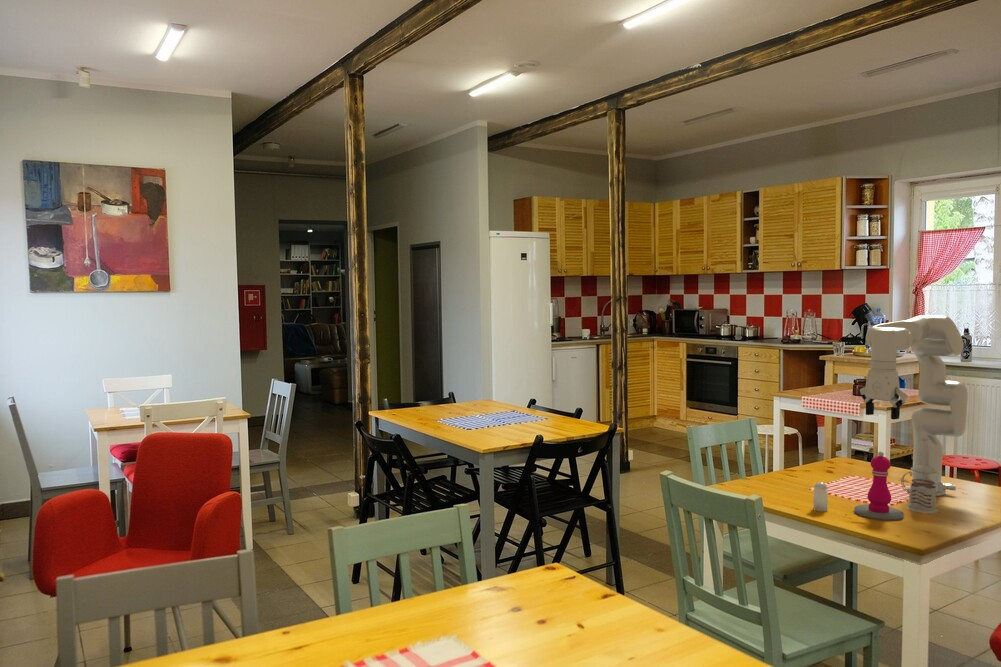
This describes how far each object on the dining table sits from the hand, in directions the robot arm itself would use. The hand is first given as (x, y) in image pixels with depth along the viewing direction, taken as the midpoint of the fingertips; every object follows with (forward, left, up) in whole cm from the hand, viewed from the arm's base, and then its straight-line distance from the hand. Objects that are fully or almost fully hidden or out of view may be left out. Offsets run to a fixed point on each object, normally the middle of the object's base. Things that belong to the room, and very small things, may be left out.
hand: (882, 416), depth 257 cm
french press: (-13, -14, -33) cm, 38 cm away
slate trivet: (0, 0, -33) cm, 33 cm away
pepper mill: (0, 0, -32) cm, 32 cm away
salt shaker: (+18, +3, -33) cm, 38 cm away
